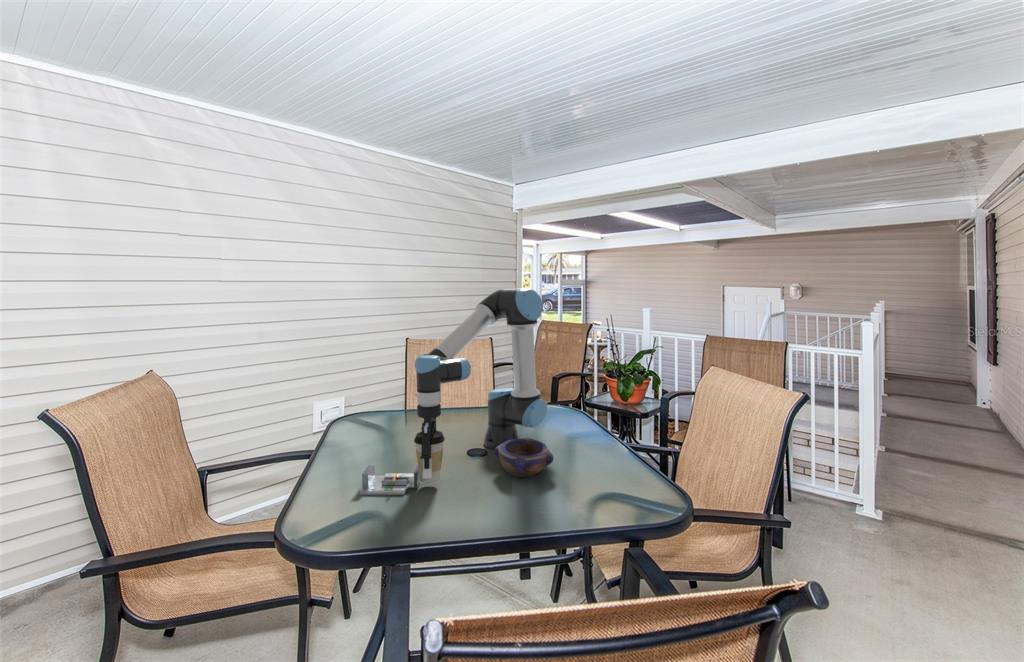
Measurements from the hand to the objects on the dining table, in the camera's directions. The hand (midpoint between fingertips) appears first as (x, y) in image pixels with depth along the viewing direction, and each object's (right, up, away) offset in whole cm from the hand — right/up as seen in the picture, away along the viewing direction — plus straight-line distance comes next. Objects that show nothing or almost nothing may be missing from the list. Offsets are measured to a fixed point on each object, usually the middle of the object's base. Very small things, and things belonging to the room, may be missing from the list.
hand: (430, 471), depth 150 cm
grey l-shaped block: (-14, -5, 0) cm, 15 cm away
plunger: (-9, -4, -1) cm, 10 cm away
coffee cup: (0, -3, 0) cm, 3 cm away
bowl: (+31, -4, +12) cm, 33 cm away
